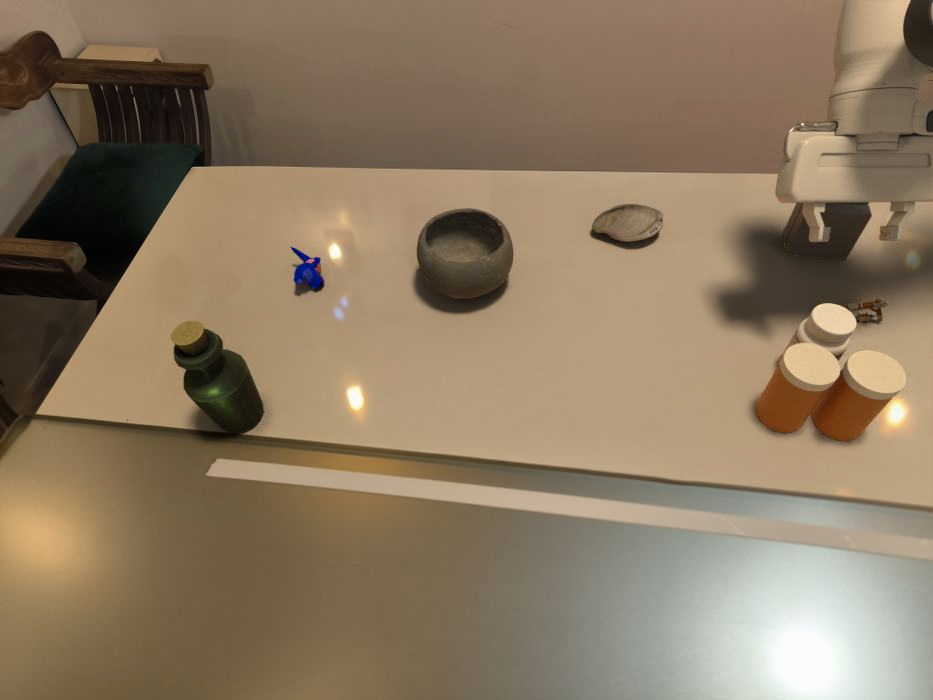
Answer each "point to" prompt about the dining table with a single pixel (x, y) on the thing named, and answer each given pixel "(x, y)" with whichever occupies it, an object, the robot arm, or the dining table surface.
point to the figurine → (308, 270)
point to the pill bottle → (826, 329)
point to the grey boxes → (843, 233)
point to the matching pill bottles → (829, 390)
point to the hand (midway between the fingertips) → (854, 241)
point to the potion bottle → (216, 378)
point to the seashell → (629, 222)
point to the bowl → (465, 252)
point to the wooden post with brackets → (868, 305)
